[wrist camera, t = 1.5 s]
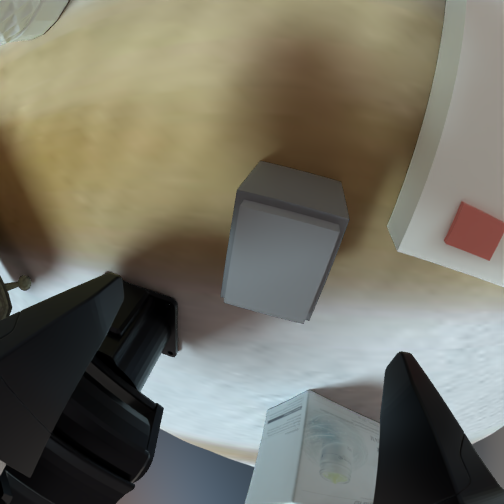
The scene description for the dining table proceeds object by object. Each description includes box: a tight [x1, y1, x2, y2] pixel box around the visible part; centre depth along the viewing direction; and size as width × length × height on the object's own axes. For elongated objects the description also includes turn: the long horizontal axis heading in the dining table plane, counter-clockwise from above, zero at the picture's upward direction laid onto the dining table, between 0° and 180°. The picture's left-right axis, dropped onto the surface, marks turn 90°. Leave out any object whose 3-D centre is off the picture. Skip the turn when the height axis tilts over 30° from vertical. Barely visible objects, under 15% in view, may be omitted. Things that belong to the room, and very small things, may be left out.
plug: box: [221, 161, 349, 324], centre depth 13 cm, size 5×4×5 cm
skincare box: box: [245, 390, 380, 504], centre depth 20 cm, size 10×6×10 cm, turn 56°
